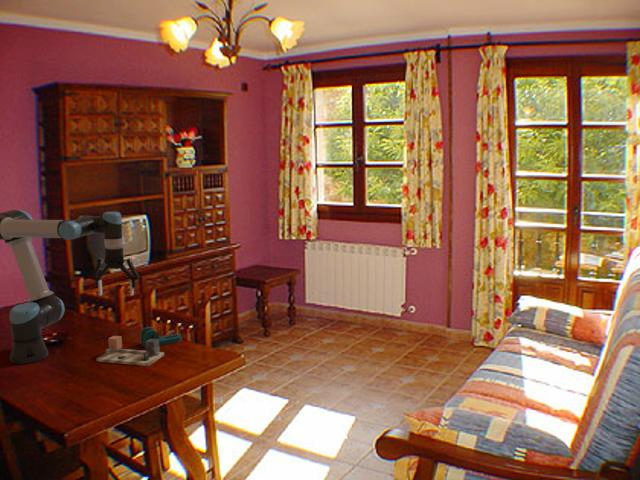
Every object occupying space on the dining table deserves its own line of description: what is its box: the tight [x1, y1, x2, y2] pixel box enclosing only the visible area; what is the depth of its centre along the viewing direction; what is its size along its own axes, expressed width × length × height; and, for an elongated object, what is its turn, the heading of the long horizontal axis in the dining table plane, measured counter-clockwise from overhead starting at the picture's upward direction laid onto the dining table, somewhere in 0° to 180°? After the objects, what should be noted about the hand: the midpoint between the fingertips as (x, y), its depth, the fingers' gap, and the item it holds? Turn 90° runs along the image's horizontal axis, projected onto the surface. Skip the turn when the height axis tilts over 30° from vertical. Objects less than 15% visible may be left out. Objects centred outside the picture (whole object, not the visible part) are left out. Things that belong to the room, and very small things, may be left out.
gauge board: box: [96, 339, 165, 367], centre depth 259 cm, size 25×13×8 cm, turn 75°
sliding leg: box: [104, 335, 123, 356], centre depth 263 cm, size 4×9×6 cm, turn 165°
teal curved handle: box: [140, 326, 183, 349], centre depth 278 cm, size 18×7×8 cm, turn 120°
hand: (116, 295), depth 263 cm, fingers open, 13 cm apart
